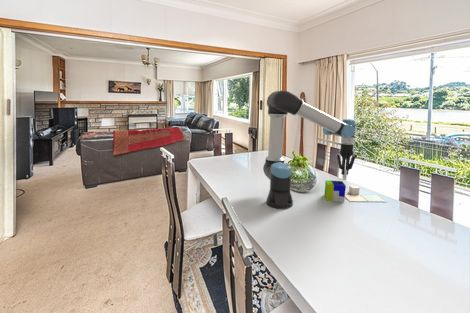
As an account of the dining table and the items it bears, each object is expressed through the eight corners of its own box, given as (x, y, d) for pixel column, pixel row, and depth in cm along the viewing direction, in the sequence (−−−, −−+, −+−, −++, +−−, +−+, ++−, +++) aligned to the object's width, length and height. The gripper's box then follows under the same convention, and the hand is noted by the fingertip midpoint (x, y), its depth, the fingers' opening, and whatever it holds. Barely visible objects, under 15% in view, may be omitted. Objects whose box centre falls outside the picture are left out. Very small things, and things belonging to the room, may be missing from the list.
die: (351, 194, 165) (352, 187, 164) (348, 192, 169) (349, 185, 168) (358, 194, 164) (359, 187, 164) (355, 192, 169) (356, 185, 168)
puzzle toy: (344, 202, 152) (345, 186, 150) (326, 200, 154) (328, 185, 152) (340, 196, 162) (342, 181, 160) (324, 195, 164) (325, 180, 161)
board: (349, 201, 152) (349, 201, 152) (342, 195, 163) (342, 194, 163) (386, 202, 152) (386, 201, 152) (376, 195, 163) (376, 195, 163)
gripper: (339, 144, 157) (336, 181, 161) (360, 144, 157) (356, 181, 161) (334, 142, 164) (332, 177, 169) (354, 142, 164) (351, 177, 169)
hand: (344, 179), depth 165 cm, fingers closed
